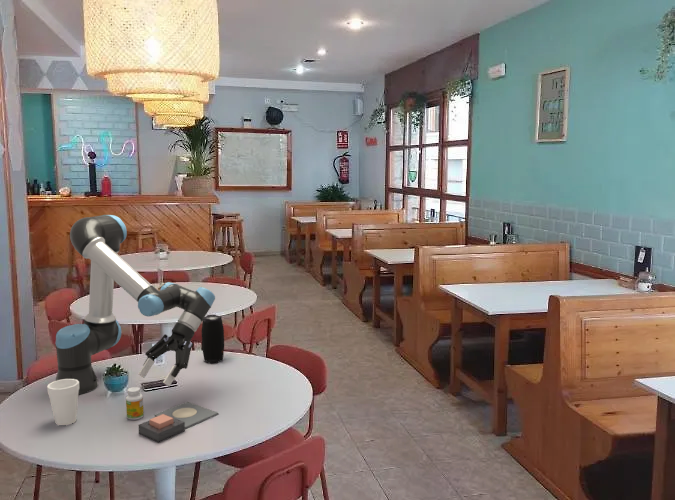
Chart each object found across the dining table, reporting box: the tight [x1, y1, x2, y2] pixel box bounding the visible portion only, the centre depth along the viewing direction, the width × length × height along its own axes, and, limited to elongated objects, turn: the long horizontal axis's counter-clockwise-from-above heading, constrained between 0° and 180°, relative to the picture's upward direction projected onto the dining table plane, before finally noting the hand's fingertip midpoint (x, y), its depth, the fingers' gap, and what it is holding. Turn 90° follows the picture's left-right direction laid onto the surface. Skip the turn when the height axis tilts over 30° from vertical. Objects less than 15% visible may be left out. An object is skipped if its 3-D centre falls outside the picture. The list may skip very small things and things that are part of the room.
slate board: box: [154, 401, 219, 430], centre depth 204 cm, size 16×14×1 cm
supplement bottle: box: [125, 386, 145, 421], centre depth 202 cm, size 5×5×10 cm
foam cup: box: [46, 379, 79, 426], centre depth 198 cm, size 10×9×13 cm
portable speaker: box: [200, 314, 225, 365], centre depth 257 cm, size 9×9×20 cm
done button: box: [148, 414, 174, 429], centre depth 191 cm, size 5×5×2 cm
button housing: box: [137, 414, 186, 444], centre depth 191 cm, size 10×10×3 cm
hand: (153, 380), depth 206 cm, fingers open, 13 cm apart
